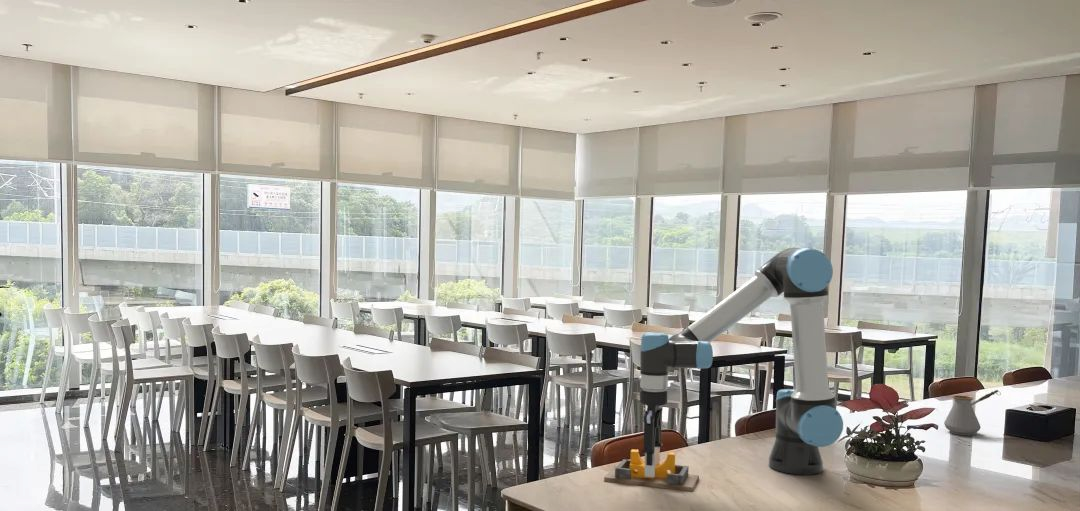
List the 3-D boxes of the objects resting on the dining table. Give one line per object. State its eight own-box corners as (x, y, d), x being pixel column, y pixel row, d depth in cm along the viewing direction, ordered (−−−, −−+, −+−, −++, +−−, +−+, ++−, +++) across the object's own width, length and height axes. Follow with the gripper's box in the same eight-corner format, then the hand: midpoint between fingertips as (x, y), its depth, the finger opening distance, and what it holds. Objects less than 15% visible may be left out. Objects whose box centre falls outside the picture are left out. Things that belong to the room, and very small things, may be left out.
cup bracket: (698, 478, 220) (699, 466, 220) (692, 491, 208) (692, 478, 208) (614, 469, 228) (614, 457, 228) (604, 480, 216) (604, 468, 216)
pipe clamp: (629, 476, 217) (629, 453, 217) (631, 472, 222) (631, 449, 221) (673, 480, 214) (674, 456, 214) (674, 476, 219) (675, 452, 219)
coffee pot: (960, 437, 275) (961, 394, 275) (936, 430, 286) (937, 388, 286) (1011, 435, 280) (1012, 392, 280) (985, 427, 292) (986, 387, 291)
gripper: (647, 382, 228) (645, 463, 228) (632, 394, 210) (631, 481, 210) (673, 384, 225) (671, 466, 226) (660, 396, 208) (659, 484, 208)
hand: (652, 473), depth 218 cm, fingers open, 6 cm apart
